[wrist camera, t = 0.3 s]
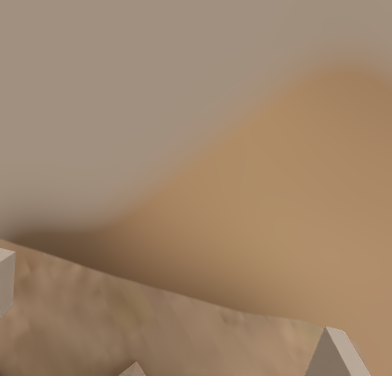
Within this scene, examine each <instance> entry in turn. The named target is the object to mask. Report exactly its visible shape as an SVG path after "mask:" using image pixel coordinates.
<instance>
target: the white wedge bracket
mask: <svg viewBox="0 0 392 376" xmlns="http://www.w3.org/2000/svg"><path fill="white" fill-rule="evenodd" d="M119 376H146V375H145V373H144V372H143V370H142V369H141V367H140V365H139V364H138V362H137V361H136V362H134V363H133V364H132V365H131V366H130V367H128V368H127V369H126V370H125V371H124V372H122V373H121V374H120V375H119Z"/></svg>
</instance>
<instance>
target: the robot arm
mask: <svg viewBox="0 0 392 376" xmlns="http://www.w3.org/2000/svg"><path fill="white" fill-rule="evenodd" d="M14 270H15V252H14V251H10V250H6V249H2V248H0V318H1V317H2V316H3V315H4V314H5V313H6V312H8V311H9V310H10V309H11V308H12V307H13V289H14ZM305 376H371V375H370V373H369V372H368V370H367V368H366V367H365V365H364V363H363V362H362V360H361V358H360V357H359V355H358V354H357V352H356V350H355V349H354V347H353V345H352V344H351V342H350V340H349V339H348V337H347V335H346V334H345V332H344V331H343V330H338V329H334V328H330V327H325V328H324V331H323V333H322V335H321V338H320V340H319V343H318V345H317V347H316V350H315V352H314V355H313V357H312V359H311V362H310V364H309V367H308V369H307V372H306V374H305Z"/></svg>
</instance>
